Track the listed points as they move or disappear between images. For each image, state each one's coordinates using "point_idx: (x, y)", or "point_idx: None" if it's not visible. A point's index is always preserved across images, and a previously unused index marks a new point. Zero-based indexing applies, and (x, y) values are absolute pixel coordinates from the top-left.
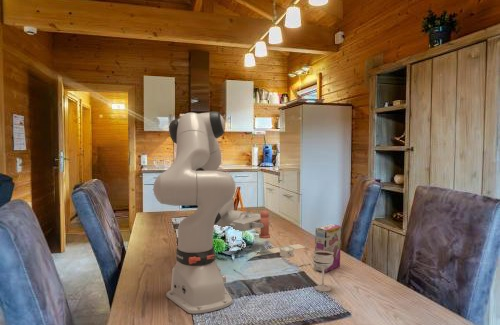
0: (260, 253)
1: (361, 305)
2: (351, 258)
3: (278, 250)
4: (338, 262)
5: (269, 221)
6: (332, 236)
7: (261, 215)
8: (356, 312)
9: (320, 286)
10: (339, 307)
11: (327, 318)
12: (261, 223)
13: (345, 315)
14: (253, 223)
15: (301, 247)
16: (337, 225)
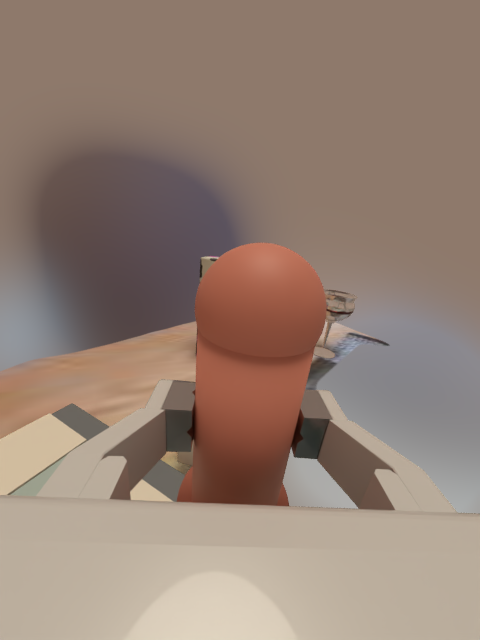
0: None
1: None
2: (139, 336)
3: None
4: None
5: (164, 379)
6: None
7: (324, 320)
8: (341, 330)
9: (326, 351)
10: (349, 338)
11: (383, 342)
12: (326, 398)
13: (358, 334)
14: (433, 495)
15: (53, 426)
16: (211, 256)
